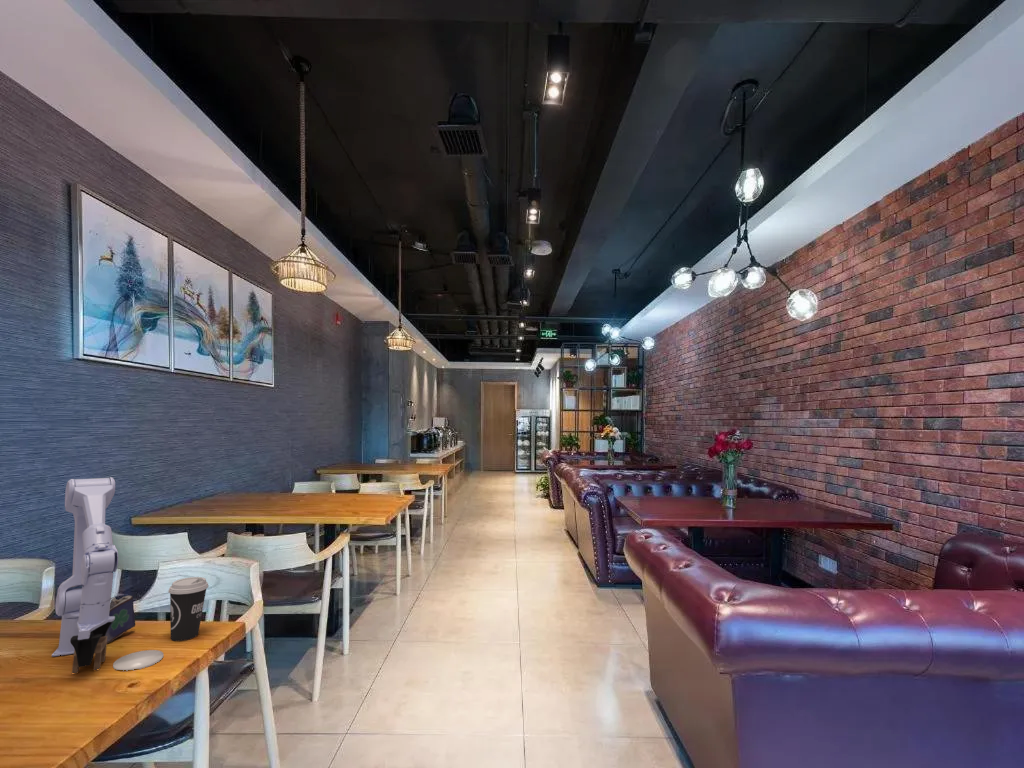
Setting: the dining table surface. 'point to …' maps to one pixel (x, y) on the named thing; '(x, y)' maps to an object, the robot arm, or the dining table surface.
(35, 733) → the dining table surface
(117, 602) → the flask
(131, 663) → the plate
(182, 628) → the coffee cup
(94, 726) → the dining table surface
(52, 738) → the dining table surface
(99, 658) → the stool
